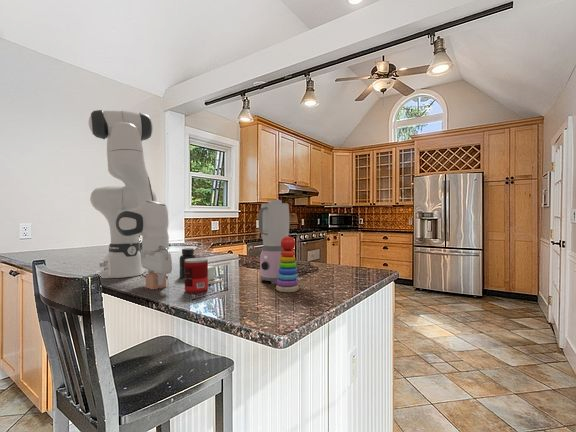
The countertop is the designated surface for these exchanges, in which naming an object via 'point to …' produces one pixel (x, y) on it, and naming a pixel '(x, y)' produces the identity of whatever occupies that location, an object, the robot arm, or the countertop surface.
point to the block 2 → (211, 273)
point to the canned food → (196, 275)
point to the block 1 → (154, 281)
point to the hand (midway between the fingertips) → (156, 282)
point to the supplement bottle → (185, 255)
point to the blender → (272, 237)
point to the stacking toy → (287, 267)
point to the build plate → (214, 281)
